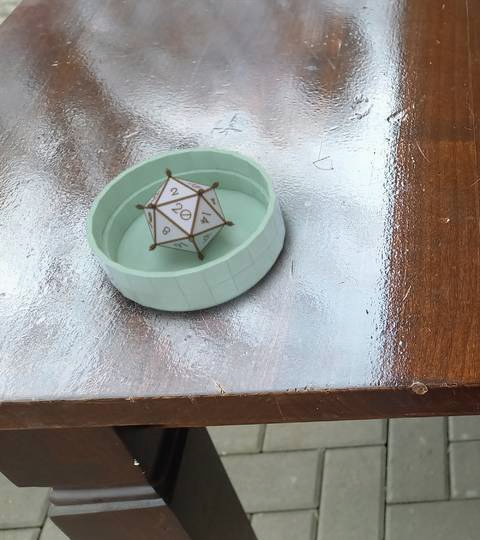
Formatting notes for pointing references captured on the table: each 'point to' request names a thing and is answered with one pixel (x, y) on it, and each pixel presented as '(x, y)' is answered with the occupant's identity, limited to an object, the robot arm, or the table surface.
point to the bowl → (178, 261)
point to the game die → (184, 215)
